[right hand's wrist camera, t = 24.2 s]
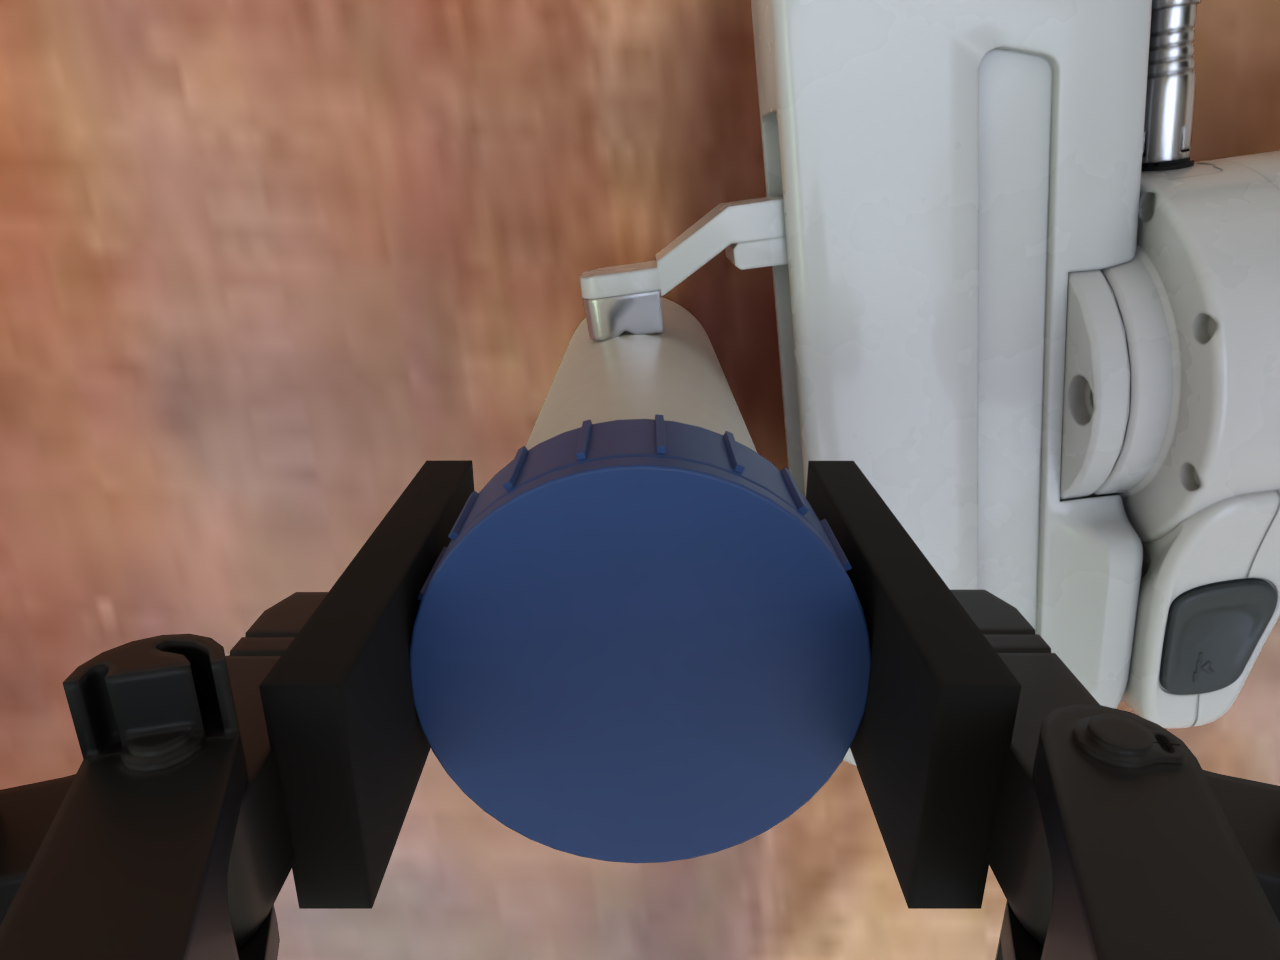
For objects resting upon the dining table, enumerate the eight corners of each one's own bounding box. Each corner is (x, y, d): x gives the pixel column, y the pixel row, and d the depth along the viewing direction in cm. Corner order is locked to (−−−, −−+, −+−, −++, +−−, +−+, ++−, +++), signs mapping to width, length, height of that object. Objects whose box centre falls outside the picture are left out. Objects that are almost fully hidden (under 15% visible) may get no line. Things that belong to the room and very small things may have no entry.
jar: (547, 313, 26) (409, 521, 10) (698, 278, 26) (790, 438, 10) (585, 455, 28) (514, 821, 12) (728, 424, 27) (846, 759, 12)
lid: (525, 341, 11) (501, 376, 9) (917, 510, 12) (970, 575, 10) (386, 692, 13) (342, 781, 11) (733, 816, 13) (748, 919, 11)
